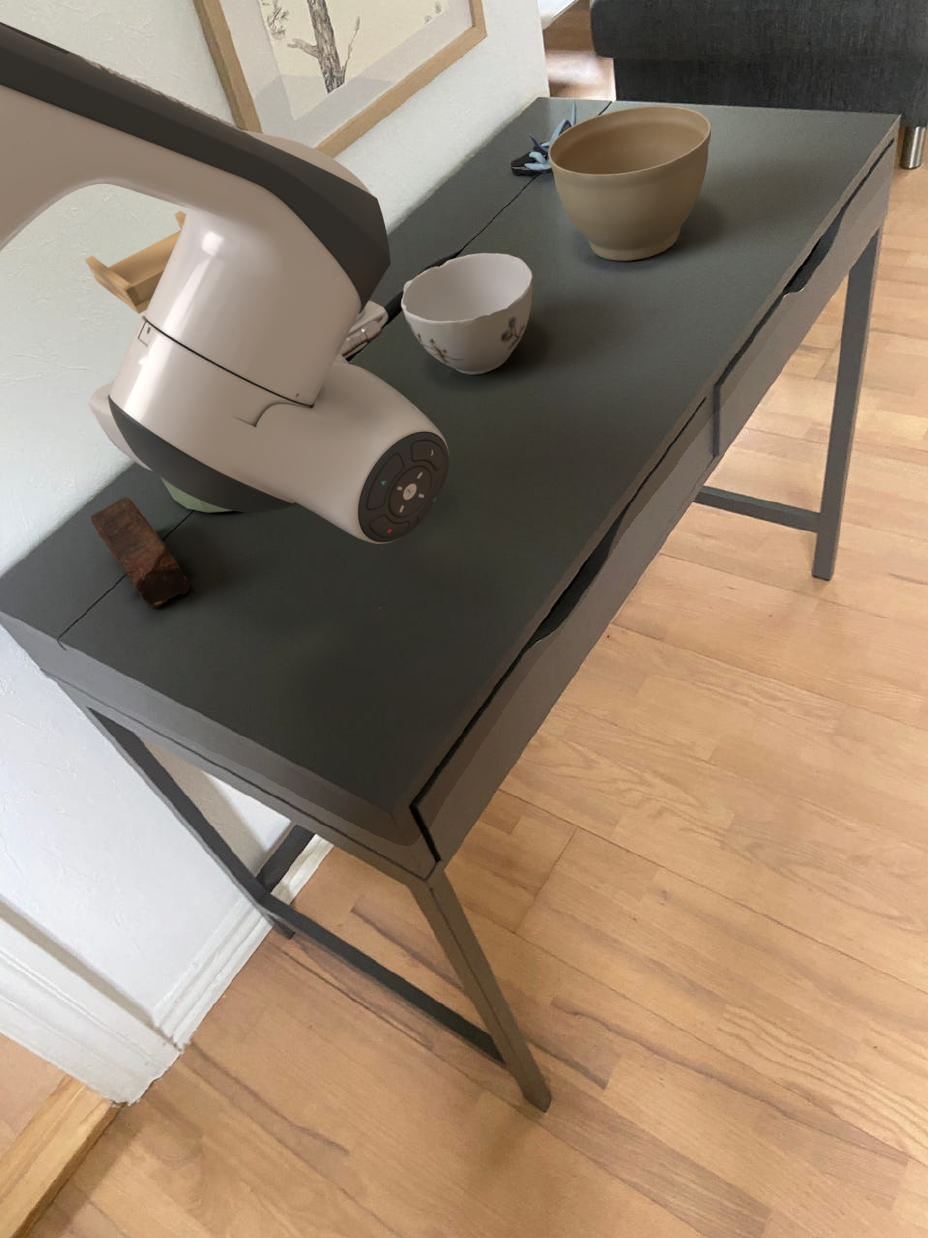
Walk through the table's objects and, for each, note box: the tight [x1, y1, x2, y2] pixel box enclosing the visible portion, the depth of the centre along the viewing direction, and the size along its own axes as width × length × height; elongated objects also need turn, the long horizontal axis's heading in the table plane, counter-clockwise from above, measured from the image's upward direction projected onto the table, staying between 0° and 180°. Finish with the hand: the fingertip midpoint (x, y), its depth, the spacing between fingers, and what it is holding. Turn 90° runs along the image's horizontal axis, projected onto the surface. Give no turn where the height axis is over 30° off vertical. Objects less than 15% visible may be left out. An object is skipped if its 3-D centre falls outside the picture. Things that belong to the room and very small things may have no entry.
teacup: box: [400, 252, 533, 375], centre depth 89 cm, size 15×12×8 cm
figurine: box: [510, 99, 577, 176], centre depth 114 cm, size 10×12×8 cm
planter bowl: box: [548, 104, 712, 262], centre depth 96 cm, size 16×16×11 cm
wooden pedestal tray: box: [84, 210, 186, 314], centre depth 69 cm, size 8×8×12 cm
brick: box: [90, 496, 191, 610], centre depth 78 cm, size 11×4×5 cm, turn 35°
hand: (190, 328), depth 69 cm, fingers closed on wooden pedestal tray, 2 cm apart
